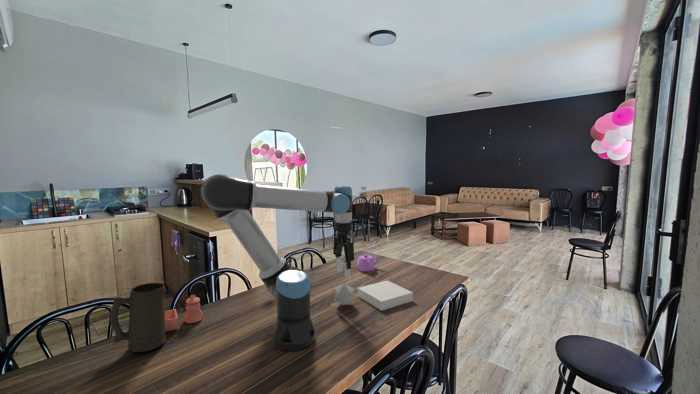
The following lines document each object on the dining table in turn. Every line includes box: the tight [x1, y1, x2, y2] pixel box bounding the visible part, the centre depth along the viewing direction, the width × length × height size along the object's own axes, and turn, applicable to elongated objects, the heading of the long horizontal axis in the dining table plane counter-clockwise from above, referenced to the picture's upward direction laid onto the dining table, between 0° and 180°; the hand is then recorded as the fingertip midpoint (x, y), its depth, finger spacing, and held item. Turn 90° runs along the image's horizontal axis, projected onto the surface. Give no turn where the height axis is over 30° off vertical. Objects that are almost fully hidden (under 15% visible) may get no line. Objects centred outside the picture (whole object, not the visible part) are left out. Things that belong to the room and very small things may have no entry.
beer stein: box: [108, 282, 167, 353], centre depth 99 cm, size 15×11×20 cm
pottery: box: [165, 294, 204, 333], centre depth 114 cm, size 18×10×10 cm, turn 125°
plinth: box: [357, 280, 414, 311], centre depth 137 cm, size 18×18×4 cm
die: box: [334, 283, 355, 306], centre depth 130 cm, size 8×9×10 cm
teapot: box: [356, 253, 381, 273], centre depth 177 cm, size 15×14×10 cm
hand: (343, 273), depth 130 cm, fingers open, 7 cm apart
